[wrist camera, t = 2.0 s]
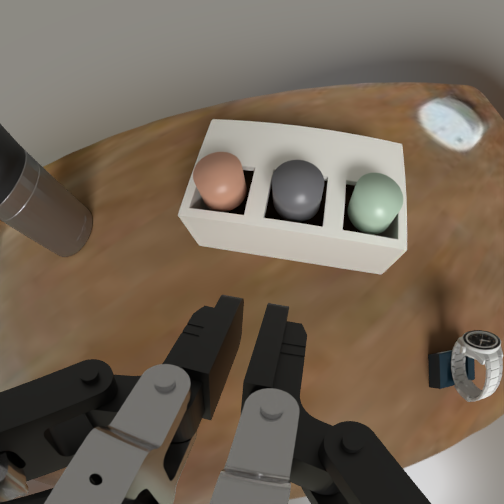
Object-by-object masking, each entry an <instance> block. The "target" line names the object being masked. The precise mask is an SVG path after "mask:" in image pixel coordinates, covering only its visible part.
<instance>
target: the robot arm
mask: <svg viewBox="0 0 504 504" xmlns="http://www.w3.org/2000/svg"><path fill="white" fill-rule="evenodd" d="M0 220H2V221H3V222H5V223H6V224H8V225H9V226H11V227H12V228H14V229H16V230H17V231H19V232H20V233H22V234H24V235H25V236H27V237H29V238H30V239H32V240H34V241H35V242H37V243H39V244H40V245H42V246H43V247H45V248H47V249H49V250H50V251H52V252H54V253H56V254H57V255H59V256H62V257H68V256H71V255H73V254H75V253H77V252H78V251H79V250H80V249H81V248H82V247H83V246H84V245H85V243H86V241H87V240H88V238H89V235H90V233H91V229H92V216H91V213H90V211H89V209H87V208H86V207H85V206H84V205H83V204H82V203H81V202H80V201H79V200H77V199H76V198H75V197H74V196H73V195H72V194H71V193H70V192H69V191H68V190H67V189H65V188H64V187H63V186H62V185H61V184H60V183H59V182H58V181H57V180H56V179H55V178H54V177H53V176H51V175H50V174H49V173H48V172H47V171H46V170H45V169H44V168H43V167H42V166H41V165H40V164H39V163H38V162H37V161H35V159H34V158H33V157H31V156H30V155H29V154H28V153H27V152H26V151H25V150H24V149H23V148H22V147H21V146H20V145H19V144H18V143H17V142H16V141H15V140H14V138H13V137H12V136H11V135H10V134H9V133H8V132H7V131H6V130H5V129H4V127H3V126H2V125H1V124H0ZM243 306H244V300H243V298H237V297H232V296H227V295H221V297H220V299H219V300H218V302H217V304H216V306H215V308H213V307H208V306H204V307H202V308H201V309H199V310H198V311H196V312H195V313H194V314H193V315H192V317H191V319H190V320H189V322H188V324H187V325H186V327H185V328H184V330H183V332H182V333H181V335H180V336H179V338H178V340H177V341H176V343H175V344H174V346H173V348H172V349H171V351H170V353H169V354H168V356H167V358H166V359H165V361H164V362H163V364H161V365H156V366H153V367H151V368H149V369H148V370H146V371H145V372H144V373H143V375H142V376H124V375H113V372H112V370H111V368H110V366H109V365H108V364H106V363H105V362H103V361H100V360H95V359H91V360H85V361H82V362H79V363H77V364H74V365H72V366H69V367H67V368H64V369H62V370H59V371H56V372H54V373H51V374H49V375H46V376H43V377H41V378H38V379H36V380H33V381H30V382H28V383H25V384H22V385H19V386H17V387H14V388H11V389H9V390H6V391H3V392H0V504H173V501H174V497H175V490H176V485H177V482H178V479H179V477H180V475H181V472H182V470H183V468H184V465H185V463H186V460H187V458H188V456H189V453H190V451H191V449H192V446H193V444H194V442H195V439H196V436H197V429H198V427H199V424H200V422H201V419H202V418H204V419H208V420H211V419H212V417H213V414H214V412H215V409H216V406H217V404H218V401H219V399H220V396H221V393H222V391H223V388H224V385H225V383H226V380H227V377H228V375H229V372H230V370H231V367H232V364H233V362H234V359H235V356H236V353H237V351H238V348H239V344H240V340H241V334H242V320H243ZM288 310H289V307H288V306H282V305H276V304H271V303H268V305H267V308H266V311H265V315H264V318H263V321H262V324H261V328H260V331H259V334H258V338H257V341H256V344H255V347H254V350H253V354H252V357H251V360H250V363H249V366H248V370H247V373H246V376H245V379H244V383H243V394H242V406H241V417H240V420H239V424H238V427H237V430H236V434H235V437H234V440H233V443H232V447H231V450H230V453H229V456H228V459H227V462H226V465H225V468H224V469H223V470H222V471H221V473H220V475H219V478H218V480H217V483H216V486H215V489H214V492H213V495H212V498H211V501H210V504H288V501H289V496H290V487H291V483H290V482H292V483H294V484H297V485H299V486H301V487H302V489H303V491H304V493H305V495H306V496H307V498H308V499H309V501H310V502H311V504H431V503H430V502H429V500H428V499H427V498H426V497H425V495H424V494H423V493H422V492H421V491H420V489H419V488H418V487H417V486H416V485H415V483H414V482H413V481H412V480H411V479H410V477H409V476H408V475H407V473H406V472H405V471H404V470H403V468H402V467H401V466H400V465H399V463H398V462H397V461H396V460H395V458H394V457H393V456H392V455H391V454H390V452H389V451H388V450H387V449H386V447H385V446H384V445H383V444H382V442H381V441H380V440H379V439H378V437H377V436H376V435H375V433H374V432H373V431H372V430H371V429H370V428H369V427H367V426H365V425H364V424H361V423H358V422H353V421H346V422H341V423H338V424H336V425H334V426H332V425H329V424H327V423H324V422H322V421H319V420H317V419H315V418H314V417H312V416H311V415H309V414H308V413H307V412H306V411H305V409H304V408H303V406H302V404H301V401H300V389H301V381H302V374H303V366H304V357H305V348H306V340H307V334H306V332H305V330H304V327H303V325H302V324H300V323H294V322H288V321H287V316H288ZM65 467H67V468H66V469H65V471H64V473H63V474H62V476H61V477H60V479H59V480H58V482H57V484H56V485H55V487H54V488H52V489H49V490H45V491H42V492H39V493H35V494H32V495H28V496H25V497H21V498H17V499H13V498H15V497H17V496H19V495H21V496H24V495H26V494H27V493H28V486H27V484H26V481H29V480H32V479H35V478H38V477H41V476H43V475H46V474H49V473H52V472H54V471H57V470H60V469H62V468H65ZM12 499H13V500H12Z"/></svg>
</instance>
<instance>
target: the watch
mask: <svg viewBox="0 0 504 504" xmlns="http://www.w3.org/2000/svg"><path fill="white" fill-rule="evenodd" d="M500 345H501V340H500V338H499V337H498V336H496V335H495V334H493V333H490V332H487V331H481V330H474V331H469V332H466V333H465V334H464V335H463V336H462V337H459V338H458V340H457V341H456V343H455V345H454V347H453V350H449V351H445V352H440V353H435V354H430V355H428V361H429V387H431V388H439V389H441V388H445V387H449V386H453V385H455V386H454V387H455V388H456V390H457V392H458V393H459V394H460V395H461V396H462V397H463V398H464V399H465V400H467V401H468V402H471V401H477V400H480V399H483V398H486V397H488V396H490V395H492V394H493V393H494V392H495V390H496V389H497V387H498V385H499V383H500V380H501V376H502V369H503V365H502V358H503V352H502V349H501V346H500ZM474 359H477V360H478V361H479V362H480V363H481V364H482V365H483V364H485V366H486V377H487V378H486V379H485V385H484V387H483V390H480V389H479V388H478V387H476V386H475V385H474V383H473V382H472V381H471V380H474V379H475V371H474Z"/></svg>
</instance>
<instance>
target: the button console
mask: <svg viewBox="0 0 504 504" xmlns="http://www.w3.org/2000/svg"><path fill="white" fill-rule="evenodd" d="M215 152H228V153H231V154H233V155H235V156H236V157H237V158H238V159H239V160H240V162H241V165H242V169H243V170H249V171H254V175H253V179H252V183H251V187H250V192H249V196H248V200H247V204H246V208H245V213H244V215H239V214H232V213H224V212H217V211H214V210H212V209H210V208H209V207H208V206H207V205H206V204H205V203H204V201H203V199H202V197H201V195H200V193H199V191H198V189H197V187H196V185H195V182H194V180H193V172H192V175H191V178H190V181H189V183H188V186H187V189H186V192H185V195H184V198H183V201H182V204H181V207H180V210H179V214H178V216H179V218H180V219H181V220H182V222H183V223H184V225H185V226H186V228H187V229H188V230H189V232H190V233H191V235H192V236H193V237H194V239H195V240H196V242H197V243H198V244H199V246H205V247H212V248H218V249H224V250H230V251H237V252H243V253H249V254H255V255H262V256H268V257H274V258H280V259H287V260H293V261H299V262H306V263H312V264H318V265H325V266H331V267H337V268H343V269H350V270H356V271H362V272H369V273H375V274H381V275H382V274H383V273H384V272H385V271H386V270H387V269H388V268H389V267H390V266H391V265H392V264H393V263H394V262H395V261H396V260H397V259H399V258H400V257H401V256H402V255H403V254H404V253H405V252H406V251H407V205H406V184H405V170H404V158H403V148H402V144H399V143H395V142H390V141H386V140H381V139H376V138H371V137H366V136H361V135H356V134H350V133H344V132H338V131H332V130H325V129H318V128H311V127H303V126H295V125H286V124H277V123H266V122H254V121H239V120H219V119H212V121H211V123H210V126H209V129H208V131H207V134H206V136H205V139H204V142H203V144H202V147H201V150H200V152H199V155H198V158H197V161H196V163H195V166H196V164H197V163H198V162H199V161H200V160H201V159H202V158H203V157H205V156H207V155H209V154H211V153H215ZM290 160H304V161H307V162H310V163H312V164H314V165H315V166H316V167H317V168H318V169H319V170H320V171H321V173H322V175H323V177H324V180H325V181H327V189H326V199H325V209H324V218H323V226H322V227H321V226H315V225H309V224H302V223H296V222H289V221H282V220H275V219H268V218H265V213H266V208H267V204H268V199H269V194H270V189H271V184H272V176H273V173H274V171H275V170H276V169H277V167H278V166H280V165H281V164H282V163H284V162H287V161H290ZM195 166H194V168H195ZM193 171H194V169H193ZM368 173H381V174H384V175H387V176H389V177H390V178H392V179H393V180H394V181H395V182H396V183H397V184H398V186H399V187H400V189H401V191H402V194H403V205H402V208H401V210H400V211H399V212H398V214H397V215H396V217H395V218H394V220H393V221H392V222H391V224H390V225H389V227H388V228H387V229H386V230H385V231H383V232H382V233H379V234H377V236H375V235H370V234H364V233H358V232H352V231H346V230H343V219H344V207H345V192H346V184H349V185H355V186H356V183H357V181H358V180H359V179H360V178H361V177H362V176H363V175H365V174H368Z"/></svg>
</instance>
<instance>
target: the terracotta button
mask: <svg viewBox="0 0 504 504" xmlns="http://www.w3.org/2000/svg"><path fill="white" fill-rule="evenodd" d="M193 180H194V182H195V185H196V187H197V189H198V191H199V193H200V195H201V197H202V199H203V201H204V203H205V204H206V205H207V206H208V207H209V208H210V209H212V210H214V211H219V212H225V211H230V210H232V209H235V208H236V207H238V206H239V205H240V204H241V203H242V202H243V201H244V199H245V197H246V193H247V187H246V182H245V178H244V173H243V169H242V165H241V162H240V160H239V159H238V158H237V157H236V156H235V155H233V154H231V153H228V152H215V153H211V154H209V155H207V156H205V157H203V158H202V159H201V160H200V161H199V162H198V163H197V164H196V166H195V168H194V171H193Z"/></svg>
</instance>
